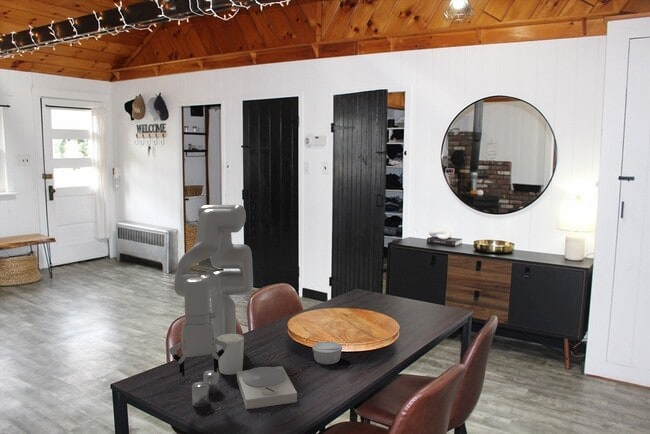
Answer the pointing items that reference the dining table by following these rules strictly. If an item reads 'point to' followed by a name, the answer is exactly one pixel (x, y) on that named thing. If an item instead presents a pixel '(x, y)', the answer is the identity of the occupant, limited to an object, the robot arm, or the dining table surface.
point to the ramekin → (327, 352)
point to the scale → (265, 387)
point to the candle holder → (231, 353)
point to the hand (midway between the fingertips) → (199, 372)
